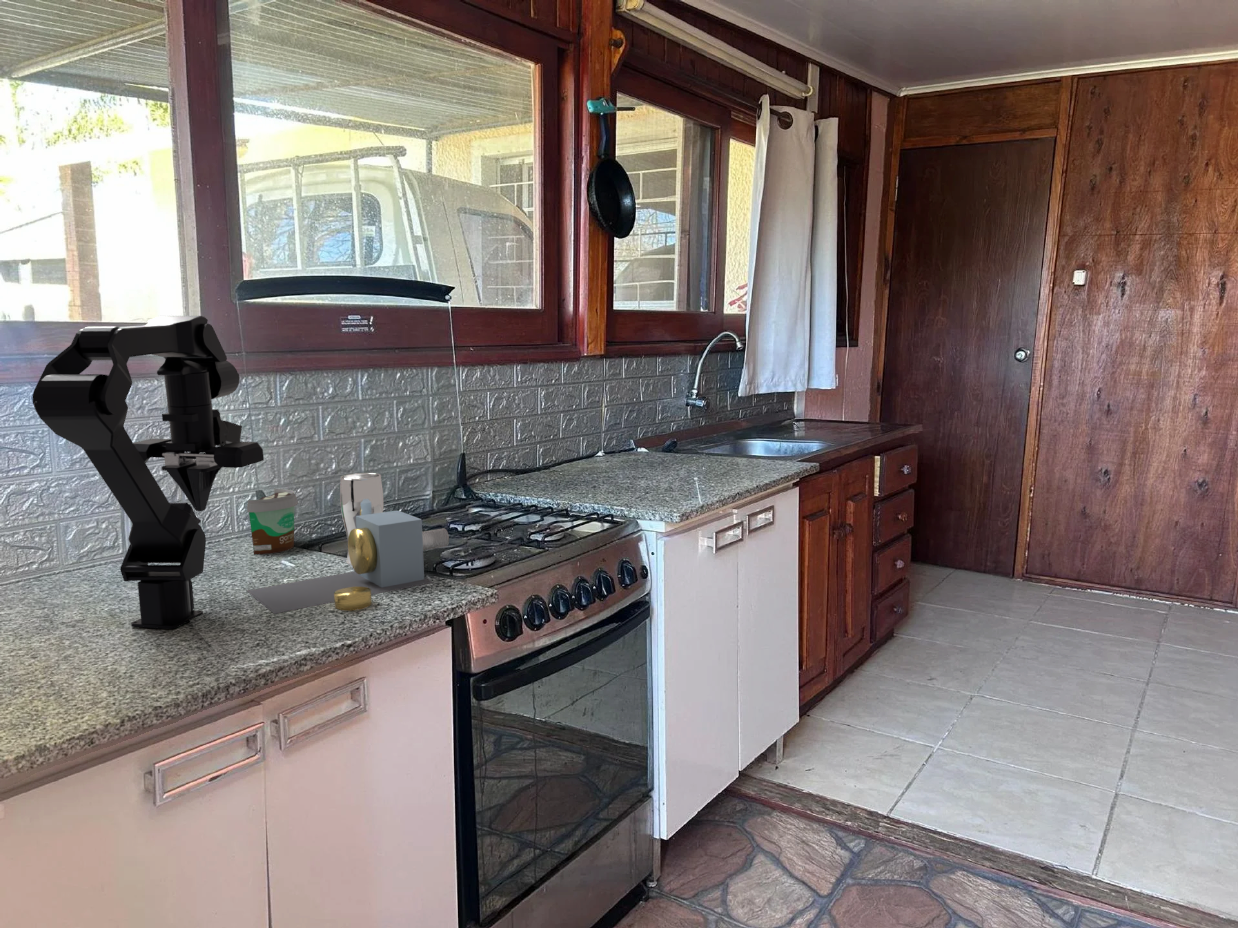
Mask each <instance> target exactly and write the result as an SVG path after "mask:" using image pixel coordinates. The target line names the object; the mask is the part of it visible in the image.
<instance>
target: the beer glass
mask: <svg viewBox="0 0 1238 928" xmlns="http://www.w3.org/2000/svg"><path fill="white" fill-rule="evenodd" d="M339 483H340V486H339V487H340V488H339V490H340V491H339V497H340V498H339V500H340V502H339V503H340V511H341V517H342V521H343V525H344V529H345V534H346V537H347V540H348V538H349V534H350V532H351V530H353V529H357V527H356V516H360V515H368V514H375V513H382V512H384V490H383V484H382V474H380V473H378V472H377V473H376V472H357V473H349V474H344V475H341V476H340V482H339ZM346 564H348V565H349V566H350V565H351V566H352V564H351V561H350V557H349V551H348V550H347V557H346Z"/></svg>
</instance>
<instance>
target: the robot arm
mask: <svg viewBox="0 0 1238 928" xmlns="http://www.w3.org/2000/svg"><path fill="white" fill-rule="evenodd" d="M208 322H209V320H208V319H207V317H205V316H204V315H158V316H156V317H154V318H151V319H149V320H147V321H146V324H144V325H131V326H130V325H129V326H127V325H126V326H86V327H83V328H81V329H79V330H77V332H76V333H75V335H74V337H73V338H72V341H71V344H70V345H69V346H67V347H66V348H65V349H64V350H62V351H61V352H60V353H59V354H58V355H56V356H55V357H54V358H53V359H52V360H50V361H49V362H48V363H47V364H46V366H45V367H44V369H43V371H42V373H41V376H40V377H39V379H38V382H37V383H36V386H35V388H34V390H33V392H32V393H33V394H32V404H33V407H34V410H35V412H36V414H37V416H38V418H40V419H41V421H42V422H43V423H44V425H46V426H48V428H49V429H50V430H51V431H52V432H53V433H54V434H55V435H56V436H58V437H61V438H62V439H64V440H66V441H68V442H70V443H72V444H74V445H76V446H78V447H80V448H81V449H82V450H83V452H84V453H85V454H86V456H87V458H88V459H89V461H90V462H91V463H92V465H93V466H94V468H95V469H96V470H97V473H98V474H99V475H100V477H101V479H102V480H103V481H104V484H106V486H107V487H108V489H109V490H110V492H111V493H112V495H113V496H114V498H115V499H116V501H117V502H118V503H119V505H120V507H121V508H122V510H123V511H124V513H125V514H126V516H127V517H128V519H129V520H130V522H131V529H130V532H129V535H128V539H127V540H128V542H129V546H128V548H127V551H126V553H125V555H124V557H123V561H122V563H121V566H120V573H121V576H122V578H123V581H124V582H130V581H131V582H133V581H136V582H137V589H138V590H137V591H138V602H139V603H138V604H139V612H140V613H139V614H140V618H139V619H136V620H134V621H132V622H131V623H130V626H131V627H133V628H145V629H146V628H148V629H149V628H150V629H160V630H161V629H164V630H172V629H173V630H174V629H177V628H179V627H180V626H183V625H184V624H187V623H189V622H190V621H191V620H193V619H195V618H197V617H199V616H200V615H203V614H204V611H203V610H197V609H196V610H195V603H194V602H195V601H194V591H193V590H194V589H193V582H192V579H193V578H195V577H197V576H199V575H201V574H203V573H204V565H205V557H206V546H207V537H206V534H205V531H204V530H203V528H202V526H201V525H200V523H201V519H200V518H198V517H197V515H196V514H195V511H196V512H204V511H205V510H206V508H207V505H208V502H209V498H210V496H211V491H212V487H213V484H214V481H215V480H216V477H217V474H218V473H219V472H220V471H221V469H223V468H228V469H229V468H230V469H239V468H244V467H248V466H250V465H254V464H257V463H260V462H263V461H265V460H264V458H265V457H264V449H263V448H262V446H261V445H260V444H259V442H258V441H241V438H242V436H241V435H242V430H243V425H240V424H237V423H234V422H232V421H231V422H230V421H227V420H223V419H222V417H221V412H220V411H219V409H217V408H215V409H213V402H212V400H214V399H219V398H223V397H226V396H229V395H231V394H233V393H234V392H235V391H236V390H237V389H238V388H239V384H240V373H238V369H237V368H236V367H235V365H233V364H232V362H230V361H228V360H227V359H228V358H227V354H226V352H225V350H224V349H223V346H222V344H221V342H220V339H219V337H218V335H217V333H216V331H215V329H214V327H213V325H212V324H211V323H208ZM149 355H152V356H157V357H162V358H164V362H163V363H162V365H160V366H159V367H158V368H157V370H156V374H157V375H158V376H163V377H164V385H165V395H166V403H167V404H166V405H167V412H166V413H161V420H162V422H168V423H169V430H170V431H169V432H170V438H149V439H144V440H140V441H136V442H134V441H133V440H132V439H131V437H130V436H129V434H128V432H127V430H126V429H125V423H126V418H127V414H128V410H129V406H128V404H127V402H126V400H127V398H128V396H129V393H130V390H131V389H132V386H133V379H132V377H131V374H130V370H129V367H128V361H129V359H130V358H132V357H133V358H134V357H140V356H142V357H143V356H149ZM93 361H112V367H111V369H110V372H109V374H104V373H103V374H101V373H100V374H99V373H98V374H97V373H95V374H87V373H86V374H83V373H82V372H84V371H85V370H86V369H87V368H89V367H90V365H92V362H93ZM151 458H158V459H159V458H160V459H161V458H162V459H163V458H164V465H163V466H161V471H163V472H164V471H166V473H168V475H169V476H170V477H171V478H172V479H173V481H174V482H175V483H176V484H177V486H178V488H180V490H181V491H182V493H183V494H184V495H185V497H186V498H187V500H188V502H170V501H169V500H168V499H167V497H166V495H165V493H164V491H163V490H162V488H161V487H160V485H159V483H158V481H157V480H156V479H155V477H154V475H153V473H152V472H151V470H150V469H149V467H148V465H147V463H148V462H149V460H150V459H151ZM191 505H192V506H191ZM194 510H195V511H194Z"/></svg>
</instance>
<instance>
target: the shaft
mask: <svg viewBox="0 0 1238 928" xmlns="http://www.w3.org/2000/svg"><path fill="white" fill-rule="evenodd" d="M422 537H423V551H429V550H433V549H439V548H445V547H448V546H449V544H450V543H449V542H450V536H449V532H448V529H446V528H445V527H444V528H443V527H442V528H437V529H431V530H430V529H429V530H426V531H425V530H424V531H423V530H422ZM348 551H349V557H350V561H351V564H352V565H351V566H352V569H353V570H354V571H355V572H356V573H357V574H365V573H370V572H373V571H374V570H375V567H376V563H377V550H376V544H375V540H374V537H373V535H372V533H371V531H370V530H369V529H368V528H358V529H353V530H351V532H350V534H349V538H348V539H347V552H348Z"/></svg>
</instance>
